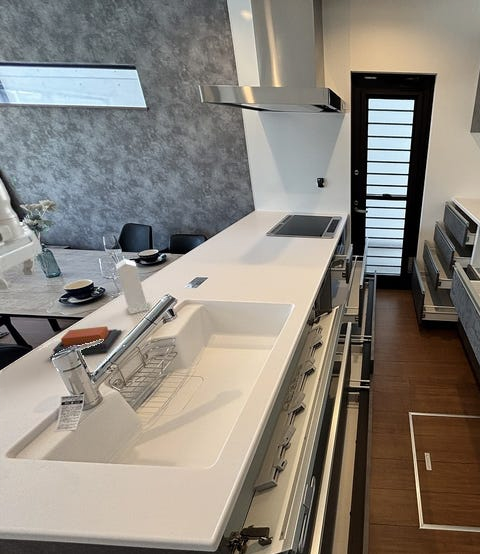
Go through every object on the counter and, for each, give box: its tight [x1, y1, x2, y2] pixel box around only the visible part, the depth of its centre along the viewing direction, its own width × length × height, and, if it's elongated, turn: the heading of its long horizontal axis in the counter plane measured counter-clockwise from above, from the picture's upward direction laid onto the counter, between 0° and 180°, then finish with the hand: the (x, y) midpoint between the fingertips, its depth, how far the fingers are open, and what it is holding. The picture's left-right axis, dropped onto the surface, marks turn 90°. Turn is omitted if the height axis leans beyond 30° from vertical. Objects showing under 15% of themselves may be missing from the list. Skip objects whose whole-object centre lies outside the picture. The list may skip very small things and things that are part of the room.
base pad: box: [49, 328, 122, 361], centre depth 99 cm, size 14×12×2 cm
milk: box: [115, 255, 149, 315], centre depth 117 cm, size 6×6×22 cm
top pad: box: [60, 325, 109, 347], centre depth 98 cm, size 10×5×4 cm, turn 108°
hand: (18, 281), depth 80 cm, fingers open, 8 cm apart
